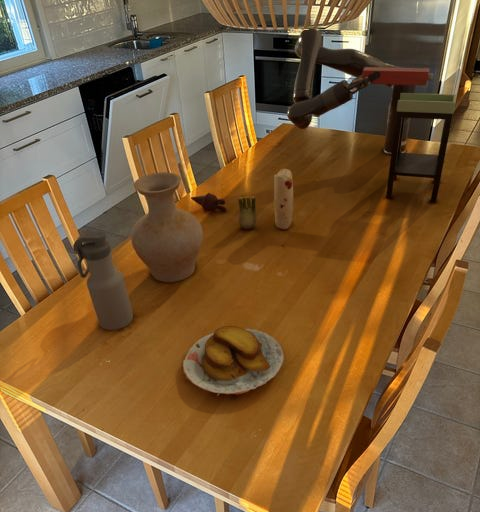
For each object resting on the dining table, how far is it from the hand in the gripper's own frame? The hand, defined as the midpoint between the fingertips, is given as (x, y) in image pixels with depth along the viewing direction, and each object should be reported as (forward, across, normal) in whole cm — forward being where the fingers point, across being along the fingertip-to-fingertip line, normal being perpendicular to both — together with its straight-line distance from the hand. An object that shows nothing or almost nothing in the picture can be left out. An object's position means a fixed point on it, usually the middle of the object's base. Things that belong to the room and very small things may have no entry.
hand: (380, 71), depth 179 cm
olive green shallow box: (+10, -10, +16) cm, 22 cm away
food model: (-41, -42, +24) cm, 63 cm away
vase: (-64, -78, +10) cm, 102 cm away
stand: (-5, -4, +44) cm, 45 cm away
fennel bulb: (-51, -47, +18) cm, 72 cm away
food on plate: (-35, -114, +27) cm, 122 cm away
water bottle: (-69, -106, +8) cm, 127 cm away
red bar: (+3, 0, +6) cm, 6 cm away
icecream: (-68, -37, +8) cm, 78 cm away
